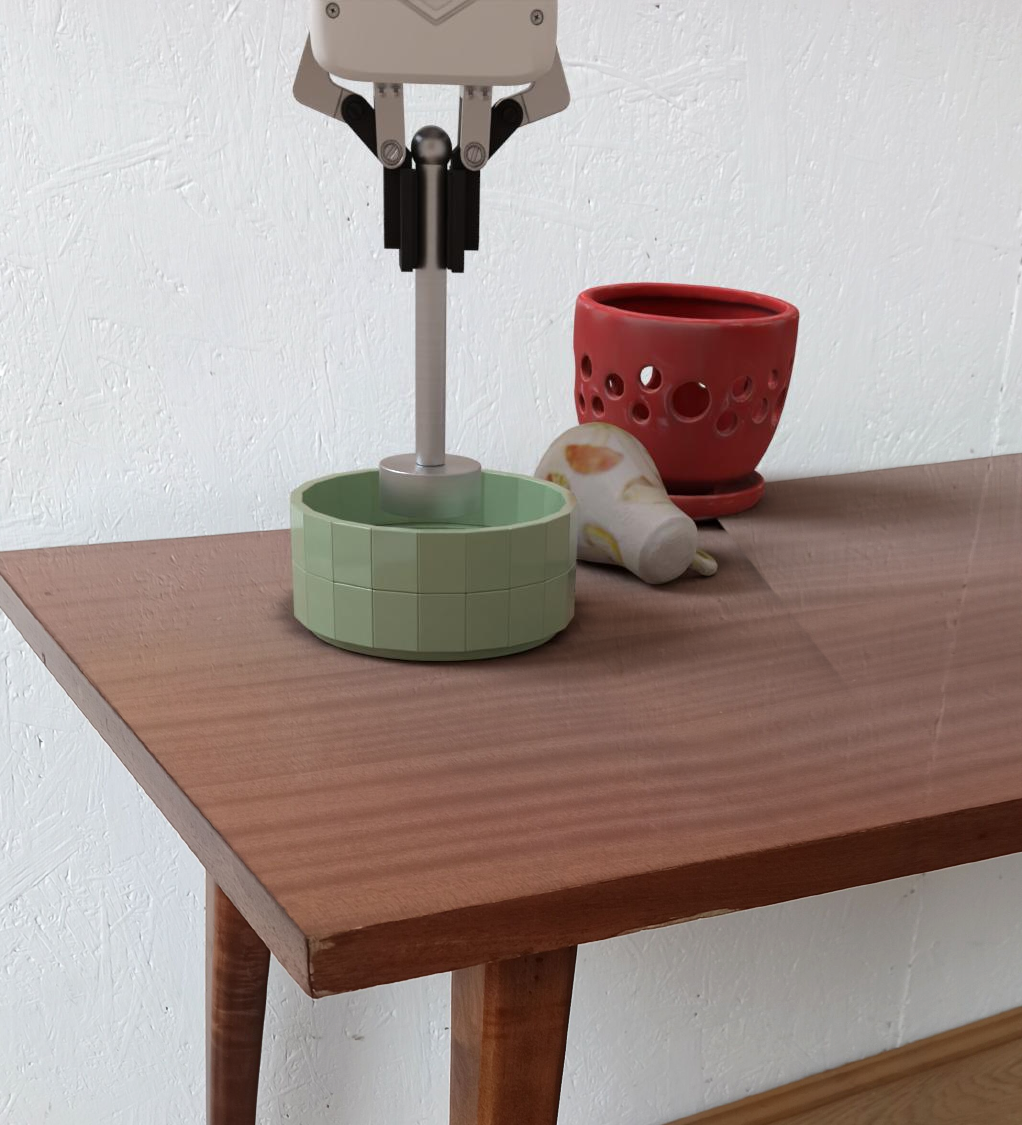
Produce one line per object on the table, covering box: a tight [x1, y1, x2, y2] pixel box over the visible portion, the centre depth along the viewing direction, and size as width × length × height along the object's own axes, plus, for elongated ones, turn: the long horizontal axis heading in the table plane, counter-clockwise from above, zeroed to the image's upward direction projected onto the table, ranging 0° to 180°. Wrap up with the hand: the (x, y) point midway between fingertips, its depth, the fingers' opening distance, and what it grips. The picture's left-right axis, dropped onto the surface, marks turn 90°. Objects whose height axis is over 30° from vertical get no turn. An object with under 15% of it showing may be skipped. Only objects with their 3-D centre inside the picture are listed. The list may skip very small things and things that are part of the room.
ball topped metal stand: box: [378, 124, 482, 519], centre depth 80 cm, size 5×5×16 cm
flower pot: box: [572, 281, 800, 523], centre depth 105 cm, size 13×13×12 cm
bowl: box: [289, 467, 579, 662], centre depth 85 cm, size 14×14×6 cm
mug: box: [532, 422, 718, 585], centre depth 95 cm, size 8×10×10 cm
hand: (431, 266), depth 78 cm, fingers closed on ball topped metal stand, 1 cm apart
